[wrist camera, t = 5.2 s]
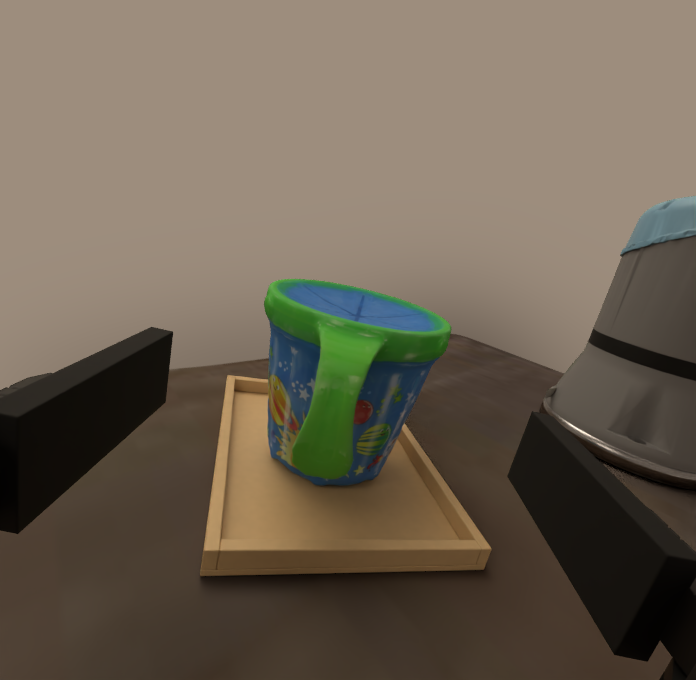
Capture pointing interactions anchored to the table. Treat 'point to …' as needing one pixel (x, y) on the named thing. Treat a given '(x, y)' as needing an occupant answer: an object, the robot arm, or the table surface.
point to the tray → (326, 508)
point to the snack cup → (343, 376)
